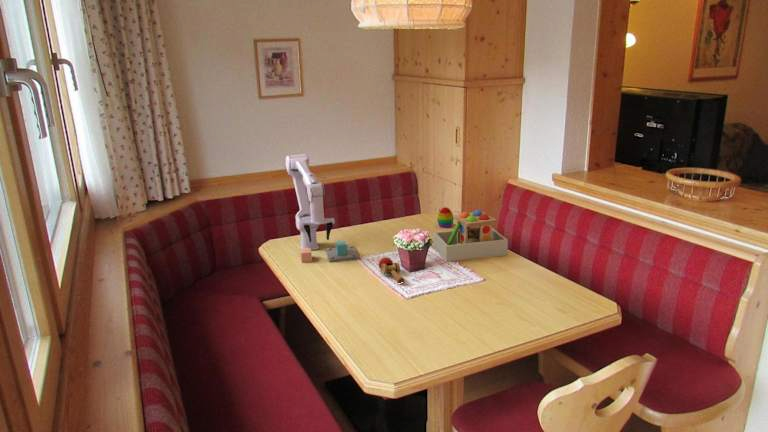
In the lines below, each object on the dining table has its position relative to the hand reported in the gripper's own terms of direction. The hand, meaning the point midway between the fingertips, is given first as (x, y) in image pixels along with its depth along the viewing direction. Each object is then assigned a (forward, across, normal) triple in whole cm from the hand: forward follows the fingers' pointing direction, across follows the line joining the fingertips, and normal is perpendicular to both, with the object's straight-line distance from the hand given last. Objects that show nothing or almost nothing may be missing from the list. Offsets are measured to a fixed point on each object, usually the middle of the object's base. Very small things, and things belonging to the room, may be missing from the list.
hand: (319, 240), depth 241 cm
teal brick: (+7, +10, 0) cm, 12 cm away
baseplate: (+8, +10, 0) cm, 13 cm away
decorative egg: (+9, +68, +24) cm, 72 cm away
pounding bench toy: (+9, +64, -13) cm, 66 cm away
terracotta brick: (+8, -6, 0) cm, 11 cm away
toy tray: (+8, +66, -12) cm, 68 cm away
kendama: (+9, +26, -30) cm, 40 cm away
